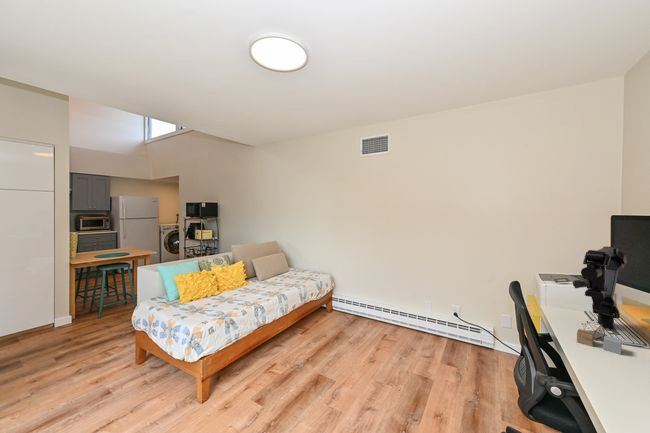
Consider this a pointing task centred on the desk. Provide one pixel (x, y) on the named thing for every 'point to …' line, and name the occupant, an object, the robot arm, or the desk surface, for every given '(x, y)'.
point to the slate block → (612, 344)
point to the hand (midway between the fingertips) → (595, 307)
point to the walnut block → (585, 337)
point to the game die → (594, 328)
